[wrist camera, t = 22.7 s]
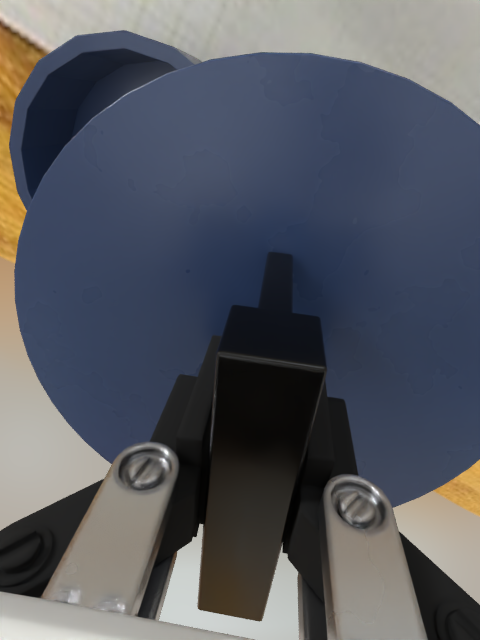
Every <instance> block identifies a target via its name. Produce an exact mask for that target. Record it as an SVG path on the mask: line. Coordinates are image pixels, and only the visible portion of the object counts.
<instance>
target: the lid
mask: <svg viewBox="0 0 480 640" xmlns="http://www.w3.org/2000/svg"><path fill="white" fill-rule="evenodd" d="M14 273H15V303H16V309H17V315H18V321H19V328H20V332H21V335H22V338H23V341H24V345H25V348H26V351H27V355H28V357H29V359H30V361H31V364H32V366H33V368H34V370H35V373H36V375H37V377H38V379H39V381H40V383H41V385H42V386H43V388H44V390H45V391H46V393H47V395H48V396H49V398H50V399H51V401H52V403H53V404H54V405H55V407H56V408H57V409H58V411H59V412H60V413H61V415H62V416H63V417H64V419H65V420H66V421H67V422H68V424H69V425H70V426H71V427H72V428H73V429H74V430H75V431H76V432H77V433H78V434H79V435H80V437H81V438H82V439H83V440H84V441H85V442H86V443H87V444H88V445H89V446H91V447H92V448H93V449H94V450H95V451H96V452H97V453H99V454H100V455H101V456H102V457H103V458H104V459H106V460H107V461H108V462H110V463H111V464H113V462H114V460H115V459H116V458H117V456H118V455H119V454H120V453H121V452H122V451H123V450H125V449H126V448H127V447H130V446H132V445H134V444H136V443H141V442H146V441H149V442H150V439H151V437H152V435H153V432H154V430H155V428H156V426H157V423H158V421H159V419H160V416H161V414H162V412H163V409H164V407H165V405H166V402H167V400H168V398H169V396H170V393H171V391H172V389H173V386H174V384H175V382H176V379H177V377H178V376H179V375H180V374H183V375H190V376H196V377H198V374H199V371H200V369H201V366H202V363H203V360H204V357H205V355H206V352H207V349H208V346H209V344H210V341H211V338H212V336H213V335H217V336H222V337H221V340H220V343H219V346H218V349H217V352H216V360H215V374H214V388H213V401H212V415H211V429H210V442H209V456H208V469H207V483H206V497H205V510H204V524H203V539H202V551H201V552H202V553H201V565H200V579H199V593H198V609H199V610H203V611H208V612H213V613H219V614H224V615H229V616H234V617H239V618H245V619H250V620H255V621H262V619H263V616H264V611H265V608H266V604H267V600H268V596H269V593H270V589H271V585H272V581H273V577H274V574H275V570H276V566H277V562H278V558H279V554H280V550H281V546H282V543H283V539H284V535H285V531H286V528H287V524H288V520H289V516H290V512H291V508H292V505H293V501H294V497H295V493H296V489H297V485H298V482H299V478H300V474H301V470H302V466H303V462H304V459H305V455H306V451H307V447H308V443H309V439H310V436H311V432H312V428H313V424H314V420H315V416H316V413H317V409H318V405H319V401H320V397H321V393H322V390H323V386H324V382H325V381H326V390H327V397H334V398H340V399H344V400H345V403H346V408H347V413H348V419H349V425H350V430H351V436H352V442H353V447H354V453H355V459H356V464H357V470H358V475H359V476H361V477H363V478H365V479H367V480H369V481H371V482H373V483H374V484H375V485H376V486H378V487H379V488H380V489H381V490H382V491H383V492H384V494H385V495H386V496H387V498H388V499H389V501H390V504H391V506H392V508H393V507H396V506H399V505H401V504H404V503H406V502H409V501H411V500H414V499H416V498H419V497H421V496H423V495H425V494H427V493H429V492H431V491H433V490H435V489H437V488H438V487H440V486H442V485H444V484H446V483H447V482H449V481H450V480H452V479H453V478H455V477H456V476H458V475H460V474H461V473H463V472H464V471H466V470H467V469H469V468H470V467H471V466H472V465H473V464H475V463H476V462H477V461H478V460H479V459H480V125H479V124H478V123H476V122H475V121H474V120H473V119H471V118H470V117H469V116H468V115H466V114H465V113H464V112H463V111H461V110H460V109H459V108H458V107H456V106H455V105H454V104H453V103H451V102H449V101H448V100H446V99H444V98H442V97H440V96H439V95H437V94H435V93H433V92H431V91H430V90H428V89H426V88H424V87H422V86H420V85H419V84H417V83H415V82H413V81H411V80H410V79H407V78H405V77H402V76H399V75H396V74H393V73H390V72H388V71H385V70H382V69H379V68H376V67H373V66H371V65H368V64H365V63H362V62H357V61H352V60H346V59H341V58H335V57H329V56H324V55H318V54H313V53H268V52H260V53H253V54H246V55H239V56H232V57H225V58H218V59H211V60H208V61H205V62H202V63H199V64H195V65H192V66H189V67H186V68H183V69H179V70H176V71H173V72H170V73H167V74H165V75H163V76H161V77H159V78H157V79H155V80H153V81H151V82H149V83H147V84H145V85H143V86H141V87H139V88H137V89H135V90H133V91H131V92H129V93H127V94H125V95H124V96H122V97H121V98H120V99H118V100H117V101H115V102H114V103H113V104H111V105H110V106H109V107H107V108H106V109H104V110H103V111H102V112H100V113H99V114H98V115H96V116H95V117H93V118H92V119H91V120H90V121H89V122H88V123H87V124H86V125H85V126H84V127H83V128H82V129H81V130H80V131H79V132H78V133H77V134H76V135H75V136H74V137H73V138H72V139H71V140H70V141H69V142H68V143H67V144H66V145H65V146H64V148H63V149H62V151H61V152H60V154H59V155H58V156H57V158H56V159H55V161H54V162H53V163H52V165H51V166H50V168H49V169H48V171H47V172H46V173H45V175H44V176H43V178H42V180H41V182H40V184H39V186H38V188H37V191H36V193H35V195H34V197H33V199H32V201H31V203H30V205H29V207H28V210H27V213H26V216H25V220H24V223H23V227H22V230H21V233H20V237H19V240H18V248H17V255H16V263H15V271H14Z"/></svg>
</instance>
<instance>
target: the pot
mask: <svg viewBox="0 0 480 640" xmlns="http://www.w3.org/2000/svg"><path fill="white" fill-rule="evenodd" d="M199 63H202V61H200V60H199V59H197V58H195V57H193V56H191V55H189V54H187V53H185V52H183V51H181V50H179V49H177V48H175V47H172V46H169V45H166V44H163V43H161V42H158V41H155V40H152V39H149V38H146V37H143V36H140V35H137V34H134V33H132V32H129V31H124V30H122V31H113V32H103V33H94V34H85V35H77V36H75V37H73V38H72V39H70V40H69V41H67V42H66V43H64V44H63V45H61V46H60V47H58V48H57V49H55V50H54V51H52V52H51V53H49V54H48V55H46V56H45V57H43V58H42V59H40V60H39V62H37V64H36V66H35V67H34V69H33V71H32V73H31V74H30V76H29V78H28V79H27V81H26V83H25V85H24V86H23V88H22V90H21V92H20V93H19V95H18V97H17V98H16V101H15V107H14V114H13V121H12V128H11V135H10V142H9V149H10V154H11V160H12V165H13V171H14V176H15V182H16V187H17V192H18V194H19V196H20V198H21V200H22V202H23V204H24V206H25V208H26V210H28V207H29V205H30V203H31V201H32V199H33V197H34V195H35V193H36V191H37V188H38V186H39V184H40V182H41V180H42V178H43V176H44V175H45V173H46V172H47V171H48V169H49V168H50V166H51V165H52V163H53V162H54V161H55V159H56V158H57V156H58V155H59V154H60V152H61V151H62V149H63V148H64V146H65V145H66V144H67V143H68V142H69V141H70V140H71V139H72V138H73V137H74V136H75V135H76V134H77V133H78V132H79V131H80V130H81V129H82V128H83V127H84V126H85V125H86V124H87V123H88V122H89V121H90V120H91V119H92V118H93V117H95V116H96V115H98V114H99V113H100V112H102V111H103V110H104V109H106V108H107V107H109V106H110V105H111V104H113V103H114V102H115V101H117V100H118V99H120V98H121V97H122V96H124V95H125V94H127V93H129V92H131V91H133V90H135V89H137V88H139V87H141V86H143V85H145V84H147V83H149V82H151V81H153V80H155V79H157V78H159V77H161V76H163V75H165V74H167V73H170V72H173V71H176V70H179V69H183V68H186V67H189V66H192V65H195V64H199Z"/></svg>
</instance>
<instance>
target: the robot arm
mask: <svg viewBox="0 0 480 640" xmlns="http://www.w3.org/2000/svg"><path fill="white" fill-rule="evenodd" d="M221 337H222V336H217V335H213V336H212V338H211V341H210V344H209V346H208V349H207V352H206V355H205V357H204V360H203V363H202V366H201V369H200V371H199V374H198V377H196V376H190V375H183V374H180V375H179V376H178V377H177V379H176V382H175V384H174V386H173V389H172V391H171V393H170V396H169V398H168V400H167V402H166V405H165V407H164V409H163V412H162V414H161V416H160V419H159V421H158V423H157V426H156V428H155V430H154V432H153V435H152V437H151V439H150V442H149V441H146V442H141V443H136V444H134V445H132V446H130V447H127V448H126V449H125V450H123V451H122V452H121V453H120V454H119V455H118V456H117V458H116V459H115V460H114V462H113V464H112V465H111V467H110V469H109V471H108V473H107V475H106V477H105V478H104V479H103V480H100V481H98V482H96V483H94V484H92V485H90V486H88V487H86V488H84V489H82V490H80V491H78V492H76V493H74V494H72V495H70V496H68V497H66V498H63V499H61V500H60V501H57V502H55V503H53V504H51V505H49V506H47V507H45V508H43V509H41V510H39V511H37V512H35V513H33V514H31V515H29V516H27V517H25V518H22V519H20V520H18V521H16V522H14V523H12V524H11V525H9V526H8V527H6V528H4V529H3V530H1V531H0V640H254V639H248V638H244V637H239V636H233V635H228V634H223V633H217V632H213V631H208V630H202V629H197V628H193V627H187V626H182V625H177V624H172V623H167V622H162V621H159V617H160V614H161V610H162V607H163V603H164V599H165V596H166V592H167V589H168V585H169V582H170V578H171V574H172V571H173V567H174V564H175V560H176V557H177V551H178V550H179V549H181V548H182V547H184V546H185V545H187V544H188V543H190V542H191V541H192V538H193V537H196V536H197V532H198V528H199V524H204V510H205V497H206V483H207V469H208V456H209V442H210V429H211V415H212V401H213V388H214V374H215V360H216V352H217V349H218V346H219V343H220V340H221ZM283 553H287V554H288V559H289V561H290V562H291V563H292V564H293V566H294V567H295V568H296V569H297V571H298V612H299V613H298V615H299V640H480V605H479V604H478V603H477V602H476V601H475V600H474V599H473V598H471V597H470V596H469V595H468V594H467V593H466V592H465V591H464V590H463V589H462V588H461V587H459V586H458V585H457V584H456V583H455V582H454V581H453V580H452V579H451V578H450V577H448V576H447V575H446V574H445V573H444V572H443V571H442V570H441V569H440V568H439V567H438V566H436V565H435V564H434V563H433V562H432V561H431V560H430V559H429V558H428V557H426V556H425V555H424V554H423V553H422V552H421V551H420V550H419V549H418V548H417V547H416V546H415V545H413V544H412V543H411V542H410V541H409V540H408V539H407V538H406V537H405V536H404V535H403V534H401V533H400V532H399V531H398V527H397V523H396V519H395V516H394V512H393V508H392V506H391V504H390V501H389V499H388V498H387V496H386V495H385V494H384V492H383V491H382V490H381V489H380V488H379V487H378V486H376V485H375V484H374V483H373V482H371V481H369V480H367V479H365V478H363V477H361V476H359V475H358V470H357V464H356V459H355V453H354V447H353V442H352V436H351V430H350V425H349V419H348V413H347V408H346V403H345V400H344V399H340V398H334V397H327V390H326V381H325V382H324V386H323V390H322V393H321V397H320V401H319V405H318V409H317V413H316V416H315V420H314V424H313V428H312V432H311V436H310V439H309V443H308V447H307V451H306V455H305V459H304V462H303V466H302V470H301V474H300V478H299V482H298V485H297V489H296V493H295V497H294V501H293V505H292V508H291V512H290V516H289V520H288V524H287V528H286V531H285V535H284V539H283Z"/></svg>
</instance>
